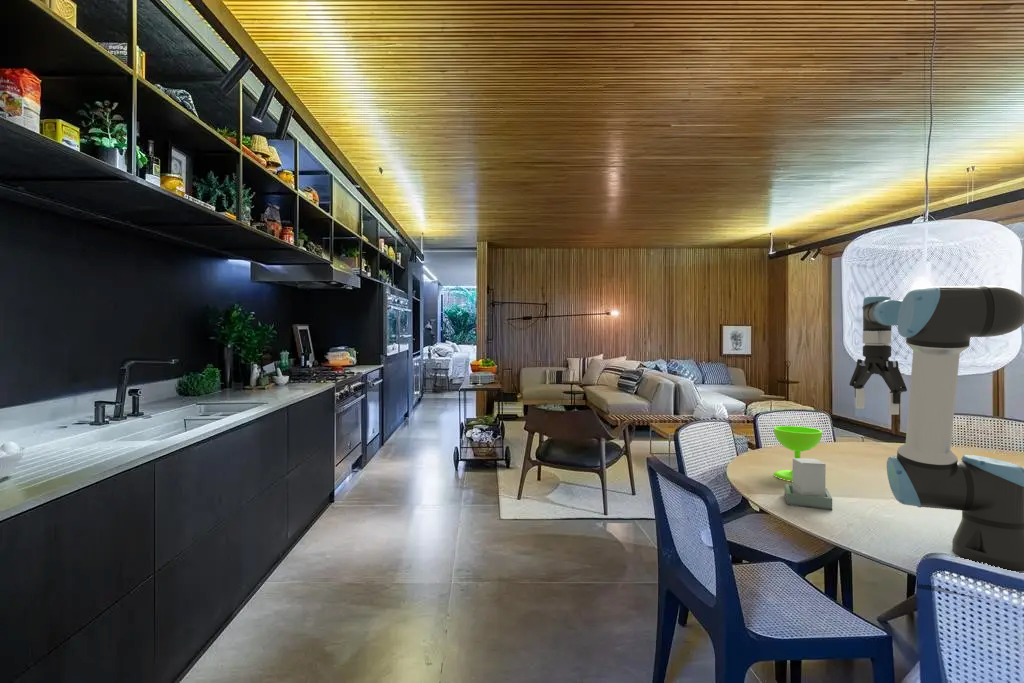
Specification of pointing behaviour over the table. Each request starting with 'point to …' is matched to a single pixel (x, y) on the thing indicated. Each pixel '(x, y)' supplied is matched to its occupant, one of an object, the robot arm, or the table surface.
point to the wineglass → (796, 443)
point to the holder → (808, 499)
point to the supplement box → (808, 477)
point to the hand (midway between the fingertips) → (876, 411)
